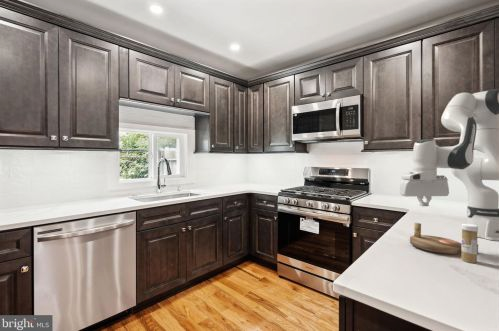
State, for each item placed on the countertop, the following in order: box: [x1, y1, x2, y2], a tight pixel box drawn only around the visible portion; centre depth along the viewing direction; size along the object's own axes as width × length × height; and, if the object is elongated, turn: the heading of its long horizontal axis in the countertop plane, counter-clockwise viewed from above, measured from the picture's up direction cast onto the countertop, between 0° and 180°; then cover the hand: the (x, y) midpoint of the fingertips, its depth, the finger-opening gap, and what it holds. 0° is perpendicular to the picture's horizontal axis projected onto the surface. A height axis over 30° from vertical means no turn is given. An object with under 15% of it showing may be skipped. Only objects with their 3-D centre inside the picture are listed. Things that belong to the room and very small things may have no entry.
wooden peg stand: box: [409, 222, 462, 255], centre depth 105 cm, size 18×18×8 cm
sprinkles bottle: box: [460, 223, 478, 264], centre depth 91 cm, size 5×5×14 cm
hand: (424, 206), depth 112 cm, fingers closed
